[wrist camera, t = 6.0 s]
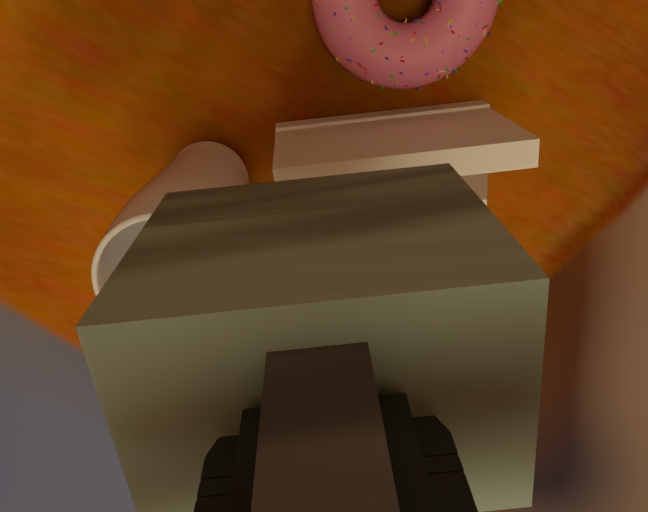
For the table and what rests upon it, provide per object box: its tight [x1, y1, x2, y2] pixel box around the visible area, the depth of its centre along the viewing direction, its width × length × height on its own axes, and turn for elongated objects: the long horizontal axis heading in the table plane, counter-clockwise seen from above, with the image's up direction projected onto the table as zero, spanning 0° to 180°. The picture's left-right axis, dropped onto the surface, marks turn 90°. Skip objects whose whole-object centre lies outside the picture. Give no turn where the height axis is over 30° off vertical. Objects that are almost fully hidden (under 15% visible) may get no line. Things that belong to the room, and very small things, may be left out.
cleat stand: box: [272, 100, 540, 206], centre depth 35 cm, size 10×14×10 cm
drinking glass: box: [91, 141, 249, 296], centre depth 32 cm, size 7×7×15 cm
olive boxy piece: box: [75, 163, 549, 512], centre depth 13 cm, size 6×9×13 cm, turn 96°
